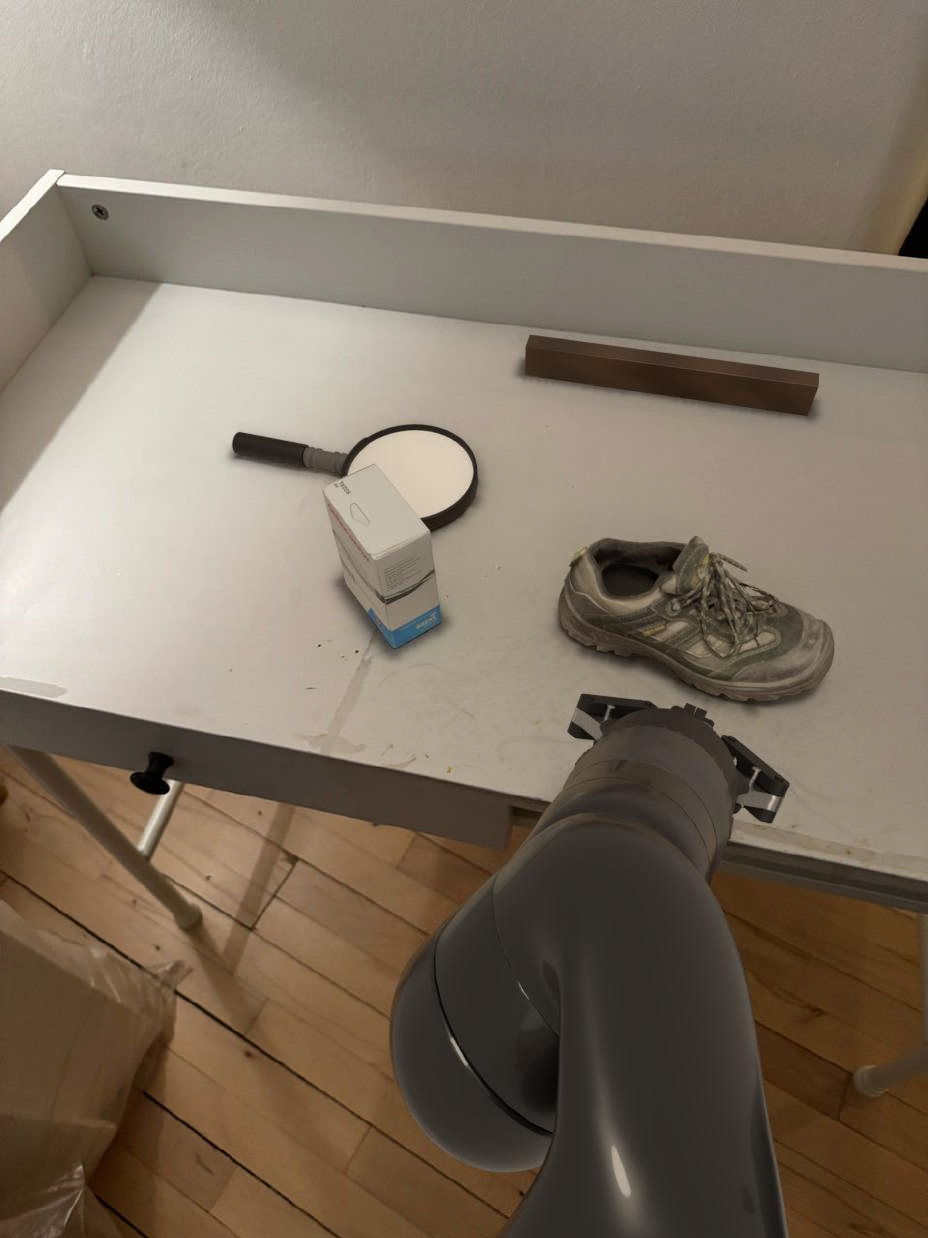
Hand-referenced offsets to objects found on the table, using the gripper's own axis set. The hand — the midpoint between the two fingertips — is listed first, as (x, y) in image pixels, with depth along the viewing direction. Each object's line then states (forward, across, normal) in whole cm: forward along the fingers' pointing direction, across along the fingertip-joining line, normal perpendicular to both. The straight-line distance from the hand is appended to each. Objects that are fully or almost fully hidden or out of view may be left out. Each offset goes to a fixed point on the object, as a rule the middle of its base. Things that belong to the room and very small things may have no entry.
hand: (691, 720), depth 55 cm
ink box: (+7, -26, -3) cm, 27 cm away
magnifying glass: (+15, -37, +5) cm, 40 cm away
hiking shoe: (+12, -3, +2) cm, 12 cm away
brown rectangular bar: (+31, -16, +22) cm, 41 cm away
